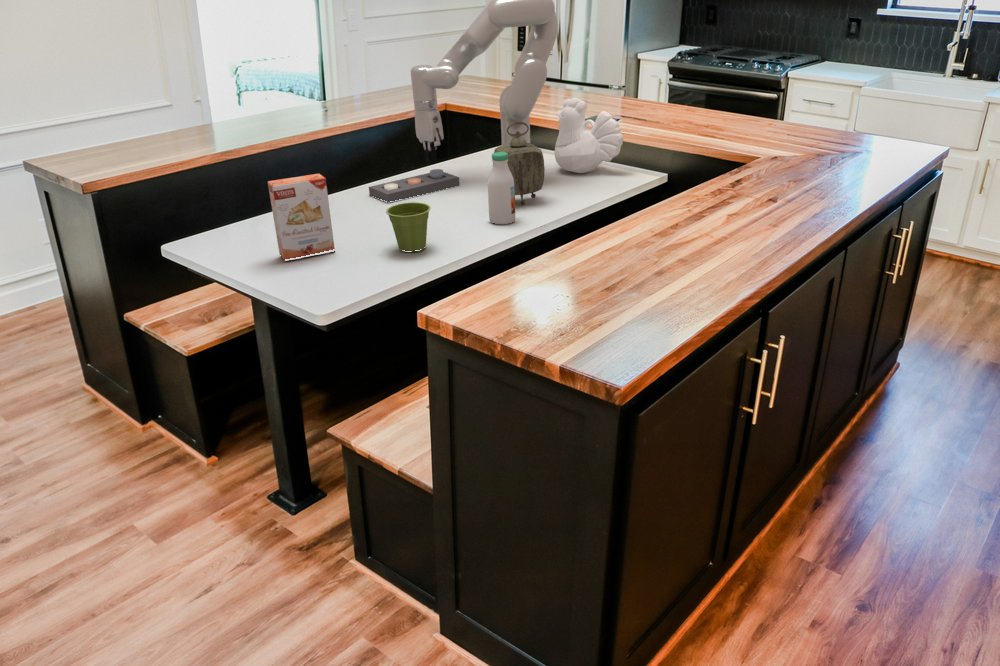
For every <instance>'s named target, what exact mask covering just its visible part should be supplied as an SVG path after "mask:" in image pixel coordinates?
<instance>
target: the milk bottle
mask: <svg viewBox="0 0 1000 666" xmlns="http://www.w3.org/2000/svg"><path fill="white" fill-rule="evenodd" d="M507 161H508V153H506V152H496V153H494V152H493V153H491V162H492V168H491V170H490V173H489V175H488V176H489V177H488V180H487V197H488V200H487V202H488V213H489V214H488V219H489V222H490V223H491V224H493V223H495V224H494V225H497V224H506V225H509V224H508V223H510V224H513V223H515V221H516V195H515V189H514V180H513V176H512V174H511V172H510V170H509V167H508V164H507ZM512 222H513V223H512Z"/></svg>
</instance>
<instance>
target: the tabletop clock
mask: <svg viewBox="0 0 1000 666" xmlns="http://www.w3.org/2000/svg"><path fill="white" fill-rule="evenodd" d="M516 124H523V125H525V126H526V127H527V131H526V132H524V133H521V134H520V132H519V131H517V132H516V134H511V133H509V132H508V129H509V128H510V127H511V126H513V125H516ZM528 130H529V127H528V125H527V124H526V123H524V122H514V123H512V124H510V125H509V126H508V128H507V133H508V134H509V135H510V136H516V137H514V138H513V139H512V140H511V142H510V144H506V145H502V144H501V145H500V146H497V147H495V148H494V151H493V153H496V152H506V153H508V161H507V164H508V167H509V170H510V172H511V174H512V176H513V180H514V189H515V196H520V200H519V204H520V205H521V206H524V205H525V204H526V200H524V195H528V194H531V195H530V197H531V199H535V198H536V197H537V195H536V192H539V191H541V190H542V189H543V186H544V182H545V169H546V168H545V158H544V153H543V150H542V148H539V147H538V146H536V145H535V144H532V143H531V142H530V143H526V140H525V139H524V138H522V137H520V136H522V135H524V134H526V133H527V132H528Z"/></svg>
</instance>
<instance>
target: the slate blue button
mask: <svg viewBox="0 0 1000 666" xmlns="http://www.w3.org/2000/svg"><path fill="white" fill-rule="evenodd" d="M443 172H444V170H443V169H441V168H435V169H434V168H433V169H431V170H429V173H430V178H432V179H439V178H443Z"/></svg>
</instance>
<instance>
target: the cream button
mask: <svg viewBox="0 0 1000 666" xmlns="http://www.w3.org/2000/svg"><path fill="white" fill-rule="evenodd" d="M397 188H398V184H395V183H390V184H386V185H384V189H386V190H393V189H397Z"/></svg>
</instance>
